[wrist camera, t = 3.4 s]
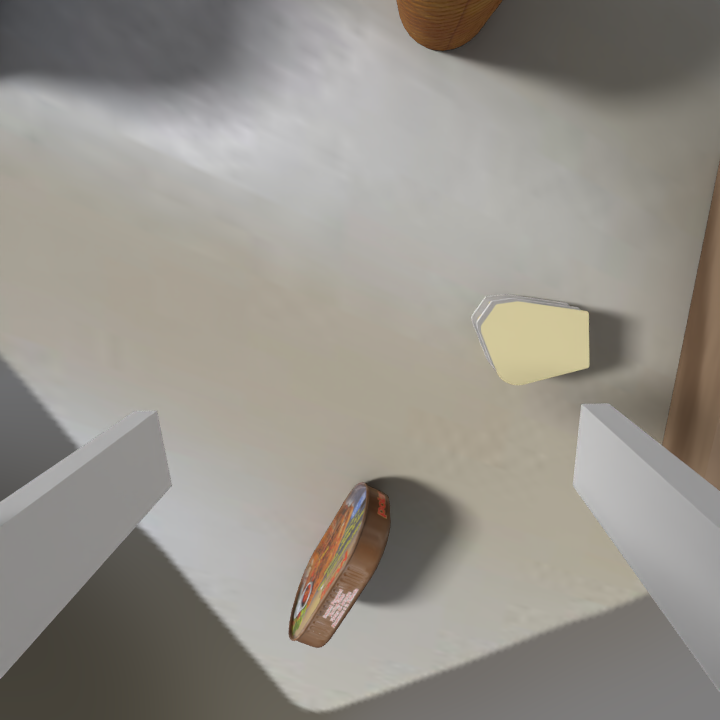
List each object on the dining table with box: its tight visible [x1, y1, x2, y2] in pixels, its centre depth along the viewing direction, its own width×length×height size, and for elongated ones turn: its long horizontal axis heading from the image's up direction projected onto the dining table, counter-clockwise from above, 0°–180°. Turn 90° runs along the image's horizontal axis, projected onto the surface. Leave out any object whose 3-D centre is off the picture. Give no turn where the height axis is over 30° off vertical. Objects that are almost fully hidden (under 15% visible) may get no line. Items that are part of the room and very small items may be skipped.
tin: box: [289, 482, 391, 648], centre depth 36 cm, size 15×3×8 cm, turn 152°
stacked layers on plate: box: [472, 294, 589, 385], centre depth 31 cm, size 10×9×6 cm
